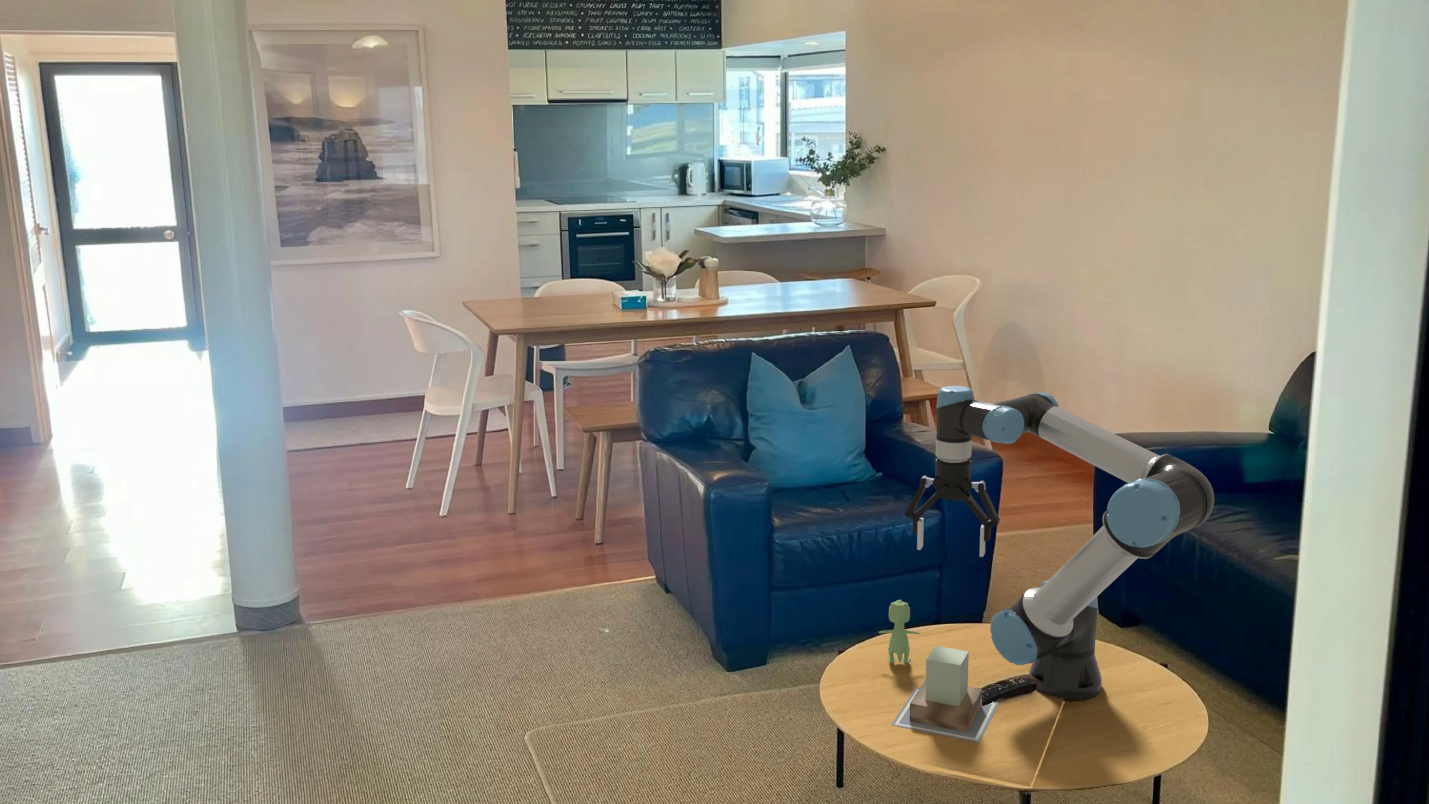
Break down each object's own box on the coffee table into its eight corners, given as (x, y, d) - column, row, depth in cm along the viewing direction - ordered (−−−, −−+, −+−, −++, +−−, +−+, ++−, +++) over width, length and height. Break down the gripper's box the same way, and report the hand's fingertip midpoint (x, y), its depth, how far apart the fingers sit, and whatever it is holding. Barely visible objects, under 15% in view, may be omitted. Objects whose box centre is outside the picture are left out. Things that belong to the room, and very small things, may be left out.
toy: (899, 654, 272) (898, 593, 269) (923, 665, 266) (923, 602, 263) (876, 662, 268) (876, 600, 265) (900, 674, 262) (900, 610, 259)
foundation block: (981, 706, 245) (982, 688, 245) (968, 732, 235) (968, 714, 234) (925, 695, 250) (925, 678, 250) (909, 721, 240) (909, 703, 239)
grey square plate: (999, 705, 247) (999, 702, 247) (979, 745, 231) (979, 742, 231) (915, 690, 254) (915, 687, 254) (890, 727, 239) (891, 724, 239)
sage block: (967, 691, 243) (968, 651, 241) (959, 706, 237) (960, 665, 235) (934, 685, 246) (935, 645, 244) (925, 700, 240) (926, 659, 238)
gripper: (1015, 458, 252) (1011, 551, 257) (900, 448, 261) (898, 539, 266) (1009, 467, 245) (1006, 563, 250) (892, 457, 254) (890, 550, 259)
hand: (950, 551), depth 258 cm, fingers open, 13 cm apart
